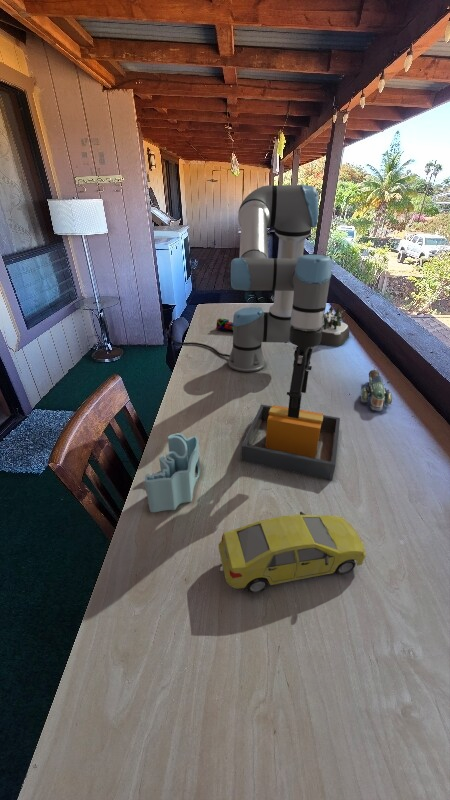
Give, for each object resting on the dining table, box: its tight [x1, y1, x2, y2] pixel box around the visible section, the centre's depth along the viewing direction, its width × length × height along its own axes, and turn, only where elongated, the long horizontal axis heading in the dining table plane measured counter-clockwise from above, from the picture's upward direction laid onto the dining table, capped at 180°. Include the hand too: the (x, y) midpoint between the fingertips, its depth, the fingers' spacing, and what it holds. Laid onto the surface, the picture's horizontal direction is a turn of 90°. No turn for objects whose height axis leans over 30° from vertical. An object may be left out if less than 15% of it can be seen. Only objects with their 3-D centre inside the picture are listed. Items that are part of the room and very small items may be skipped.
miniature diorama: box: [319, 305, 351, 347], centre depth 169 cm, size 20×20×17 cm
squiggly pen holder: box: [144, 432, 201, 513], centre depth 85 cm, size 18×10×9 cm, turn 175°
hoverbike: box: [360, 366, 393, 413], centre depth 123 cm, size 10×25×8 cm, turn 163°
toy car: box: [218, 511, 367, 594], centre depth 66 cm, size 12×28×10 cm, turn 102°
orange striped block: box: [264, 404, 324, 459], centre depth 98 cm, size 14×8×11 cm, turn 71°
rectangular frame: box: [240, 404, 341, 481], centre depth 99 cm, size 24×22×5 cm
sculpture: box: [215, 317, 233, 331], centre depth 180 cm, size 9×5×30 cm
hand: (297, 403), depth 93 cm, fingers open, 13 cm apart
